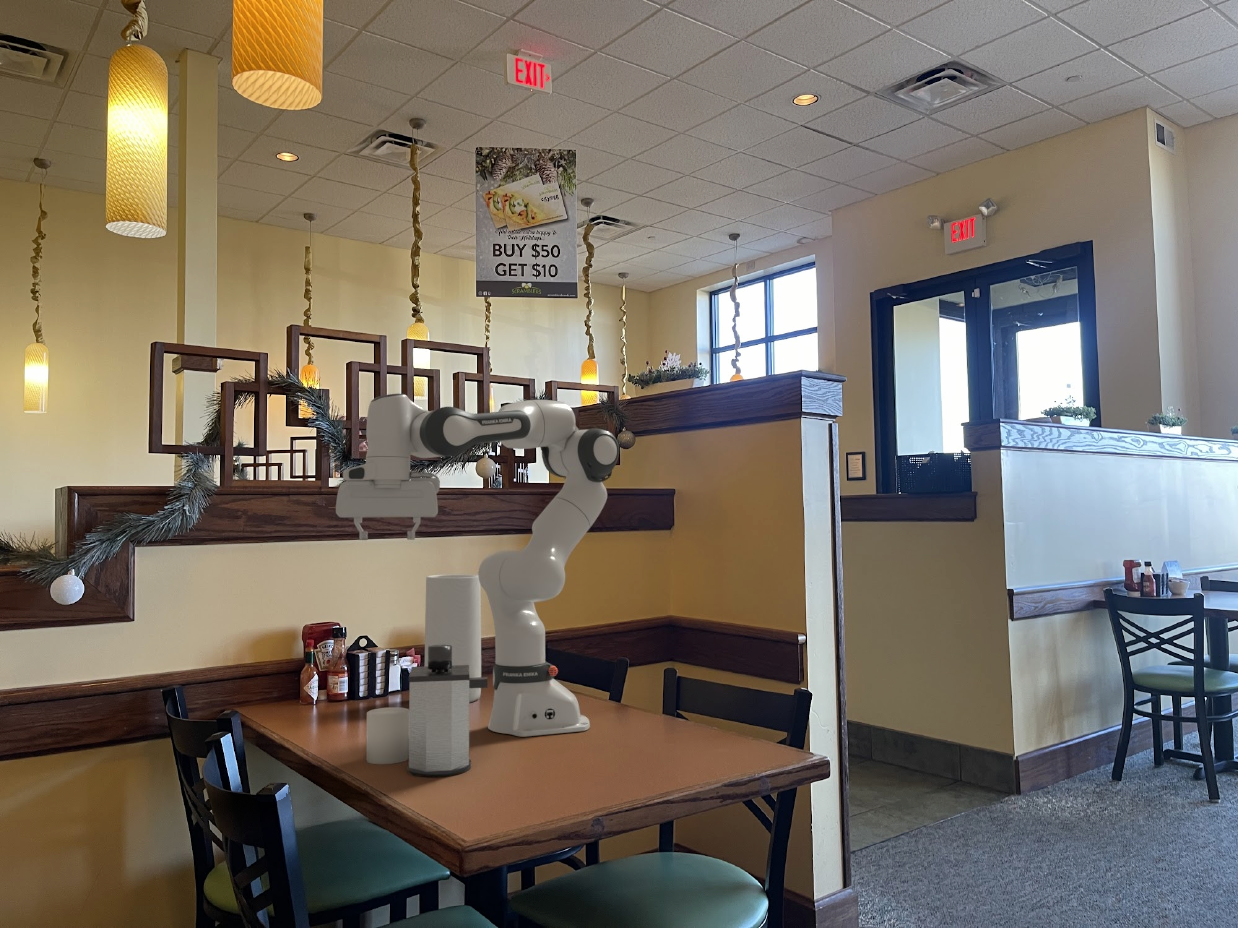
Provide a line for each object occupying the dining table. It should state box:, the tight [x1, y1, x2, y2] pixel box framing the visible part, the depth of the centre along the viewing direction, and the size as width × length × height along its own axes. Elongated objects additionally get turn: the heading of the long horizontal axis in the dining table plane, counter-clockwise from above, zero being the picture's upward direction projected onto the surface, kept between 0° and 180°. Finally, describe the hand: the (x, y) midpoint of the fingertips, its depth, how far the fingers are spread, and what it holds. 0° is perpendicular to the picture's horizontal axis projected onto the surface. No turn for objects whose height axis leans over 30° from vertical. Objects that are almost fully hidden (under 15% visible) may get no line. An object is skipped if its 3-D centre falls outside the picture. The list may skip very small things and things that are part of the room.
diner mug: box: [365, 706, 409, 765], centre depth 177 cm, size 8×11×9 cm
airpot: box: [406, 665, 489, 778], centre depth 168 cm, size 15×12×18 cm
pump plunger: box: [428, 645, 452, 672], centre depth 168 cm, size 4×4×21 cm
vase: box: [424, 573, 482, 703], centre depth 232 cm, size 14×14×32 cm
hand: (387, 539), depth 184 cm, fingers open, 8 cm apart
